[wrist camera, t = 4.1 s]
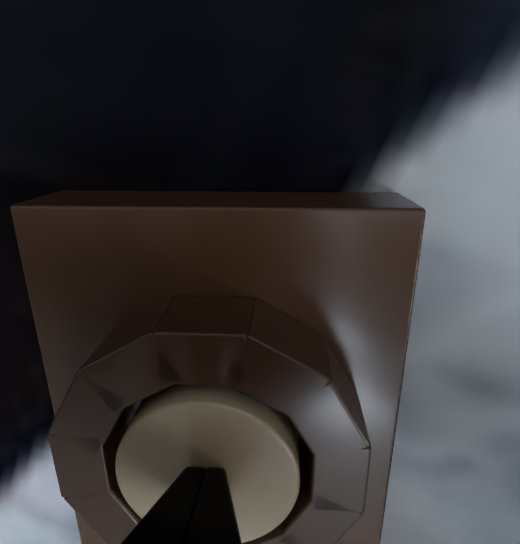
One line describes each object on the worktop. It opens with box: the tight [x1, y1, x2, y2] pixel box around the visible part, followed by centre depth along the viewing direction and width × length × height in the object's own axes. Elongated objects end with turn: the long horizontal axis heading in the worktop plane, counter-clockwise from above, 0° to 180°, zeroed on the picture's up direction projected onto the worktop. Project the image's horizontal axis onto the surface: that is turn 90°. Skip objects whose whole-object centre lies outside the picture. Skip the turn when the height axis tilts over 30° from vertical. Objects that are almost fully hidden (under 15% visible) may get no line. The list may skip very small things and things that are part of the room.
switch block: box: [10, 190, 426, 544], centre depth 11 cm, size 11×9×4 cm
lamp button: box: [115, 384, 300, 543], centre depth 9 cm, size 4×4×2 cm
